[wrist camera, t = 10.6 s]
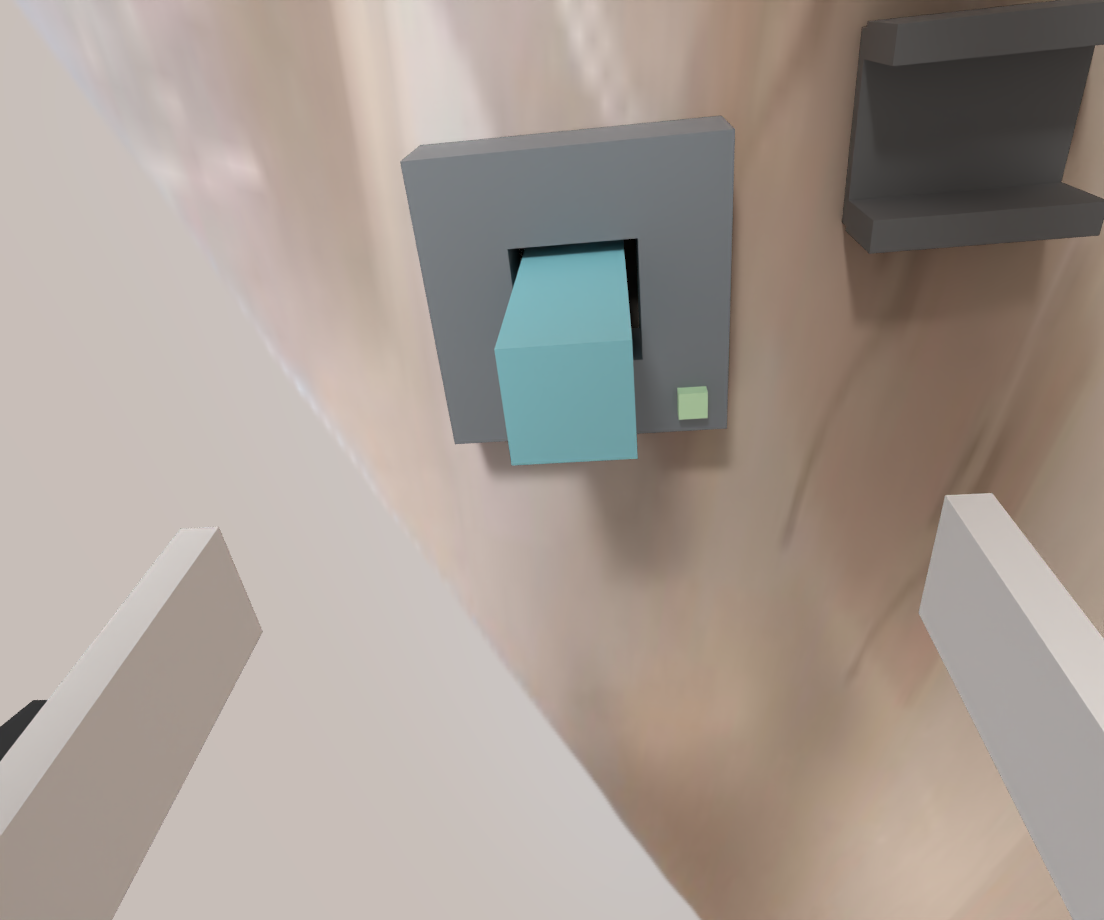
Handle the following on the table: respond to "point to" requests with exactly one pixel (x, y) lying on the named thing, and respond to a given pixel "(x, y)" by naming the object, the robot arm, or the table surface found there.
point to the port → (579, 217)
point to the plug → (568, 356)
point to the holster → (970, 127)
